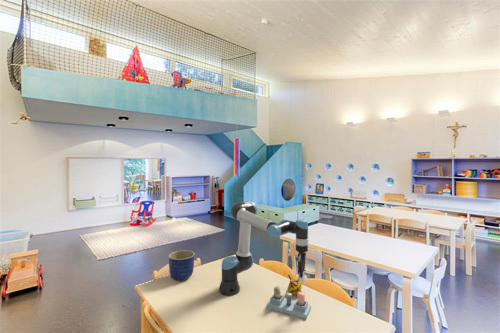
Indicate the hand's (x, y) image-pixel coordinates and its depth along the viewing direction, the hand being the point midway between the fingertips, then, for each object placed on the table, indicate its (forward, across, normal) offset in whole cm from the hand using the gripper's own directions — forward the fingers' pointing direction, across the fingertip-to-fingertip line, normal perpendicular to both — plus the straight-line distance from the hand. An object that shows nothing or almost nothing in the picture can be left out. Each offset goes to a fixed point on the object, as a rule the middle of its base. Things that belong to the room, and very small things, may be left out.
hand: (301, 281), depth 157 cm
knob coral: (+15, 0, 0) cm, 15 cm away
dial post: (+17, 0, +8) cm, 19 cm away
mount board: (+19, 0, +8) cm, 21 cm away
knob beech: (+15, 0, +16) cm, 22 cm away
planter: (+19, +1, +99) cm, 101 cm away
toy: (+19, +20, +10) cm, 30 cm away
